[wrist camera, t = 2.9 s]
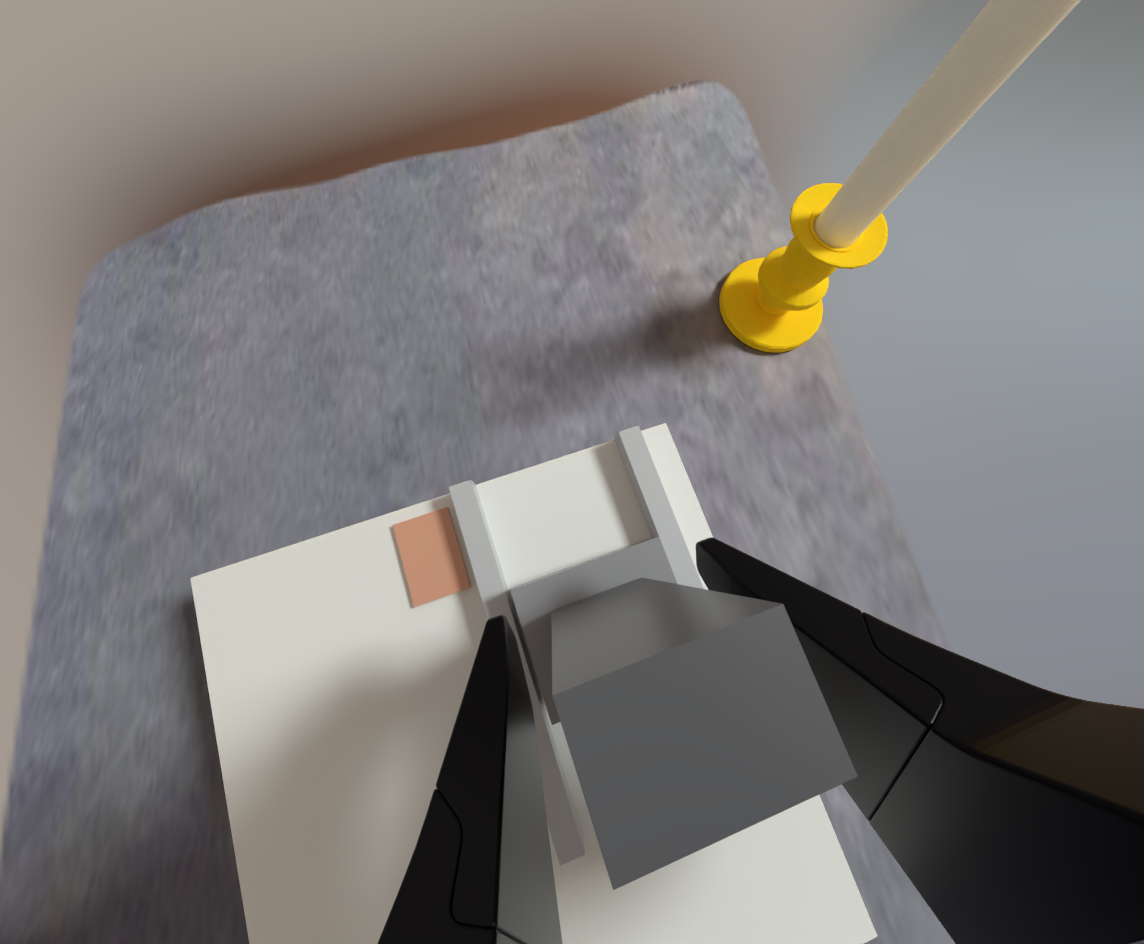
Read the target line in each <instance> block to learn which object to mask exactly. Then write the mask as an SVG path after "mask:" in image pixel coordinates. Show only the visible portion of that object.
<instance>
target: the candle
mask: <svg viewBox="0 0 1144 944" xmlns="http://www.w3.org/2000/svg"><path fill="white" fill-rule="evenodd" d="M1080 1H1081V0H989V2H988V3H987V4H986V6H985V7H984V8H983V9H982V11H981V12H980V13H979V14H978V16H977V17H976V18H975V19H974V21H973V22H972V23H971V24H970V26H969V27H968V28H967V30H966V31H965V32H964V33H963V35H962V36H961V37H960V39H959V40H958V41H957V42H956V44H955V45H954V46H953V47H952V49H951V50H950V51H949V52H948V53H947V55H946V56H945V57H944V59H943V60H942V61H941V62H940V64H939V65H938V66H937V68H936V69H935V70H934V71H933V72H932V74H931V75H930V76H929V78H928V79H927V80H926V81H925V83H924V84H923V85H922V87H921V88H920V89H919V90H918V91H917V93H916V94H915V95H914V96H913V98H912V99H911V100H910V102H909V103H908V104H907V105H906V107H905V108H904V109H903V110H902V112H901V113H900V114H899V115H898V117H897V118H896V119H895V120H894V122H893V123H892V124H891V125H890V127H889V128H888V129H887V131H886V132H885V133H884V135H883V136H882V137H881V138H880V139H879V141H878V142H877V143H876V145H875V146H874V147H873V148H872V149H871V151H870V152H869V153H868V155H867V156H866V157H865V158H864V160H863V161H862V162H861V164H860V165H859V166H858V167H857V168H856V170H855V171H854V172H853V173H852V175H851V176H850V177H849V179H848V180H847V181H846V182H845V184H844V185H842V184H837V183H836V184H835V183H824V184H819V185H815V186H813V187H810V188H808V189H806V190H805V191H804V192H803V193H802V194H801V195H799V196H798V197H797V199H796V201H795V202H794V204H793V206H792V208H791V214H790V223H791V230H792V232H793V234H794V238H793V239H792V240H791V241H790V243H789V245H788V246H786V247H781V248H778V249H776V250H774V251H772V252H771V253H769V254H768V255H767V256H766V258H757V259H752V260H748V261H746V262H744V263H742V264H740V265H738V266H737V267H736V268H735V269H734V270H733V271H732V272H731V273H730V274H729V276H728V278H727V279H726V281H725V283H724V285H723V286H722V288H721V293H720V298H719V303H720V312H721V314H722V317H723V320H724V322H725V324H726V325H727V327H728V328H729V330H730V331H731V332H732V334H734V335H735V336H736V337H737V338H738V339H739V340H740V341H742V342H743V343H745V344H747V345H748V346H750V347H752V348H754V349H757V350H761V351H765V352H778V353H781V352H785V351H790V350H793V349H795V348H797V347H799V346H801V345H802V344H804V343H805V342H806V341H807V340H809V339H810V337H811V336H812V335H813V334H814V333H815V332H816V331H817V329H818V327H819V325H820V323H821V320H822V313H823V306H822V300H821V299H822V298H823V297H824V295H825V294H826V291H827V289H828V284H829V278H828V276H829V275H831V274H832V273H833V272H834V271H835V270H836V268H848V269H853V268H857V267H862V266H865V265H867V264H869V263H870V262H872V261H874V260H875V259H876V258H877V257H878V256H879V255H880V254H881V253H882V251H883V250H884V247H885V245H886V243H887V238H888V228H887V223H886V220H885V218H884V215H883V214H882V212H883V211H884V209H885V208H886V207H887V206H888V205H889V204H890V203H891V202H892V201H893V200H894V199H895V198H896V197H897V196H898V195H899V193H900V192H901V191H902V190H903V189H904V188H905V187H906V186H907V185H908V184H909V183H910V182H911V181H912V180H913V179H914V177H915V176H916V175H917V174H918V173H919V172H920V171H921V170H922V169H923V168H924V167H925V166H926V165H927V164H928V162H930V161H931V159H932V158H933V157H934V156H935V155H936V154H937V153H938V152H939V151H940V150H941V149H942V148H943V147H944V146H945V144H946V143H947V142H948V141H949V140H950V139H951V138H952V137H953V136H954V135H955V134H956V133H957V132H958V130H960V128H962V126H963V125H964V124H965V123H966V122H967V121H968V120H969V119H970V118H971V117H972V116H973V115H974V114H975V112H977V111H978V109H979V108H980V107H981V106H982V105H983V104H984V103H985V102H986V101H987V100H988V99H989V98H990V97H991V96H992V94H993V93H994V92H995V91H996V90H997V89H998V88H999V87H1000V86H1001V85H1002V84H1003V83H1004V82H1005V81H1006V80H1007V79H1008V77H1009V76H1010V75H1011V74H1012V73H1013V72H1014V71H1015V70H1016V69H1017V68H1018V67H1019V66H1020V65H1021V64H1022V63H1023V61H1024V60H1025V59H1026V58H1027V57H1028V56H1029V55H1030V54H1031V53H1032V52H1033V51H1034V50H1035V49H1036V48H1037V47H1038V46H1039V45H1040V43H1041V42H1042V41H1043V40H1044V39H1045V38H1046V37H1047V36H1048V35H1049V34H1050V33H1051V32H1052V31H1053V30H1054V29H1055V27H1056V26H1057V25H1058V24H1059V23H1060V22H1061V21H1062V20H1063V19H1064V18H1065V17H1066V16H1067V15H1068V14H1069V13H1070V11H1071V10H1072V9H1073V8H1074V7H1075V6H1076V5H1077V4H1078V3H1079V2H1080Z"/></svg>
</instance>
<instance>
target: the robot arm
mask: <svg viewBox="0 0 1144 944" xmlns="http://www.w3.org/2000/svg"><path fill="white" fill-rule="evenodd" d="M696 566H697V569H698V572H699V574H700V576H701V578H702V579H703V581H704V583H705V585H706V586H707V588H708V590H712V591H717V592H722V593H728V594H733V595H738V596H744V597H749V598H755V599H760V600H765V601H771V602H776V603H781V604H784V607H785V609H786V611H787V614H788V616H789V618H790V621H791V623H792V625H793V628H794V630H795V632H796V635H797V637H798V639H799V642H800V644H801V646H802V648H803V651H804V653H805V655H806V658H807V660H808V662H809V665H810V667H811V669H812V672H813V674H814V676H815V679H816V681H817V683H818V686H819V688H820V690H821V692H822V695H823V697H824V699H825V702H826V704H827V706H828V709H829V711H830V713H831V716H832V718H833V720H834V723H835V725H836V727H837V730H838V732H839V734H840V736H841V739H842V741H843V743H844V746H845V748H846V750H847V753H848V755H849V757H850V760H851V762H852V764H853V767H854V769H855V771H856V773H857V776H858V777H856V778H854V779H851V780H849V781H847V782H845V783H843V784H842V785H843V786H844V788H845V789H846V791H847V792H848V793H849V795H850V796H851V798H852V799H853V800H854V802H855V803H856V805H857V806H858V807H859V809H860V810H861V812H862V813H863V814H864V816H865V817H866V819H867V820H869V821H870V825H871V826H872V827H873V829H874V830H875V832H876V833H877V834H878V836H879V837H880V838H881V840H882V841H883V843H884V844H885V845H886V847H887V848H888V850H889V851H890V852H891V854H892V855H893V857H894V858H895V859H896V861H897V862H898V864H899V865H900V866H901V868H902V869H903V871H904V872H905V873H906V875H907V876H908V878H909V879H910V880H911V882H912V883H913V885H914V886H915V887H916V889H917V890H918V892H919V893H920V894H921V896H922V897H923V899H924V900H925V901H926V903H927V904H928V906H929V907H930V908H931V910H932V911H933V913H934V914H935V915H936V917H937V918H938V920H939V921H940V922H941V924H942V925H943V927H944V928H945V929H946V931H947V932H948V933H949V935H950V936H951V938H952V939H953V940H954V942H955V943H956V944H1144V709H1141V708H1134V707H1127V706H1120V705H1113V704H1105V703H1098V702H1091V701H1086V700H1082V699H1077V698H1072V697H1069V696H1065V695H1061V694H1057V693H1054V692H1051V691H1048V690H1045V689H1042V688H1039V687H1037V686H1034V685H1031V684H1029V683H1026V682H1024V681H1021V680H1019V679H1016V678H1014V677H1011V676H1009V675H1007V674H1004V673H1002V672H999V671H997V670H994V669H992V668H990V667H987V666H985V665H982V664H980V663H977V662H975V661H973V660H970V659H968V658H965V657H963V656H960V655H958V654H955V653H953V652H951V651H948V650H946V649H943V648H941V647H939V646H936V645H934V644H932V643H929V642H927V641H925V640H922V639H920V638H918V637H915V636H913V635H911V634H909V633H907V632H905V631H902V630H900V629H898V628H896V627H894V626H892V625H890V624H888V623H885V622H883V621H881V620H879V619H877V618H875V617H873V616H871V615H869V614H867V613H865V612H863V613H862V612H861V611H860V610H859V609H857V608H855V607H853V606H851V605H849V604H847V603H845V602H843V601H841V600H839V599H837V598H834V597H832V596H830V595H828V594H826V593H824V592H822V591H820V590H818V589H816V588H814V587H812V586H810V585H808V584H806V583H804V582H802V581H800V580H798V579H796V578H794V577H792V576H790V575H788V574H786V573H784V572H782V571H780V570H778V569H776V568H774V567H772V566H770V565H768V564H766V563H764V562H762V561H760V560H758V559H756V558H754V557H751V556H749V555H747V554H745V553H743V552H741V551H739V550H737V549H735V548H733V547H731V546H729V545H727V544H725V543H723V542H721V541H719V540H717V539H715V538H711V537H710V538H707V539H704V540H701V541H699V542H697V543H696ZM436 788H437V789H435V790H434V791H433V794H432V797H431V801H430V804H429V807H428V810H427V814H426V817H425V820H424V823H423V826H422V829H421V832H420V835H419V838H418V841H417V844H416V847H415V849H414V852H413V855H412V857H411V860H410V863H409V865H408V868H407V870H406V873H405V876H404V878H403V881H402V883H401V886H400V889H399V891H398V894H397V896H396V899H395V901H394V904H393V906H392V909H391V911H390V914H389V916H388V919H387V921H386V924H385V926H384V929H383V931H382V933H381V936H380V938H379V941H378V943H377V944H562V936H561V928H560V921H559V913H558V905H557V897H556V889H555V881H554V873H553V865H552V857H551V849H550V841H549V833H548V825H547V817H546V809H545V801H544V793H543V785H542V777H541V769H540V762H539V754H538V746H537V738H536V730H535V722H534V715H533V708H532V703H531V698H530V694H529V690H528V685H527V681H526V677H525V673H524V669H523V665H522V661H521V657H520V653H519V649H518V645H517V641H516V638H515V635H514V633H513V630H512V628H511V626H510V624H509V622H508V620H507V618H506V616H505V615H504V614H500V615H498V616H495V617H492V618H490V619H488V620H487V622H486V624H485V627H484V630H483V634H482V637H481V640H480V643H479V647H478V650H477V653H476V656H475V659H474V663H473V666H472V669H471V672H470V676H469V679H468V682H467V685H466V688H465V692H464V695H463V698H462V701H461V705H460V708H459V711H458V714H457V717H456V721H455V724H454V727H453V730H452V734H451V737H450V740H449V743H448V746H447V750H446V753H445V756H444V759H443V763H442V766H441V769H440V772H439V775H438V779H437V782H436Z"/></svg>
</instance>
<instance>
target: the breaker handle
mask: <svg viewBox="0 0 1144 944" xmlns="http://www.w3.org/2000/svg"><path fill="white" fill-rule="evenodd" d="M510 591H511V594H512V598H513V601H514V604H515V607H516V610H517V614H518V617H519V620H520V623H521V627H522V630H523V633H524V636H525V640H526V643H527V646H528V649H529V653H530V656H531V659H532V662H533V666H534V669H535V672H536V675H537V679H538V682H539V685H540V688H541V692H542V695H543V698H544V701H545V705H546V708H547V711H548V714H549V718H550V721H551V724H552V725H554V724H556V723H559V722H561V725H562V728H563V731H564V734H565V738H566V741H567V744H568V747H569V750H570V754H571V757H572V760H573V763H574V766H575V770H576V773H577V776H578V779H579V782H580V786H581V789H582V792H583V795H584V798H585V802H586V805H587V808H588V811H589V814H590V818H591V821H592V824H593V827H594V830H595V834H596V837H597V840H598V843H599V846H600V850H601V853H602V856H603V859H604V862H605V866H606V869H607V872H608V875H609V878H610V882H611V885H612V888H613V890H615V889H617V888H619V887H621V886H624V885H626V884H628V883H630V882H632V881H634V880H637V879H639V878H641V877H643V876H645V875H647V874H649V873H652V872H654V871H656V870H658V869H660V868H662V867H664V866H667V865H669V864H671V863H673V862H675V861H677V860H679V859H682V858H684V857H686V856H688V855H690V854H692V853H695V852H697V851H699V850H701V849H703V848H705V847H707V846H710V845H712V844H714V843H716V842H718V841H720V840H722V839H725V838H727V837H729V836H731V835H733V834H735V833H738V832H740V831H742V830H744V829H746V828H748V827H750V826H753V825H755V824H757V823H759V822H761V821H763V820H765V819H768V818H770V817H772V816H774V815H776V814H778V813H781V812H783V811H785V810H787V809H789V808H791V807H793V806H796V805H798V804H800V803H802V802H804V801H806V800H808V799H811V798H813V797H815V796H817V795H819V794H821V793H823V792H826V791H828V790H830V789H832V788H834V787H836V786H839V785H841V784H843V783H845V782H847V781H849V780H851V779H854V778H856V777H858V776H857V773H856V771H855V769H854V767H853V764H852V762H851V760H850V757H849V755H848V753H847V750H846V748H845V746H844V743H843V741H842V739H841V736H840V734H839V732H838V730H837V727H836V725H835V723H834V720H833V718H832V716H831V713H830V711H829V709H828V706H827V704H826V702H825V699H824V697H823V695H822V692H821V690H820V688H819V686H818V683H817V681H816V679H815V676H814V674H813V672H812V669H811V667H810V665H809V662H808V660H807V658H806V655H805V653H804V651H803V648H802V646H801V644H800V642H799V639H798V637H797V635H796V632H795V630H794V628H793V625H792V623H791V621H790V618H789V616H788V614H787V611H786V609H785V607H784V604H781V603H776V602H771V601H765V600H760V599H755V598H749V597H744V596H738V595H733V594H728V593H722V592H717V591H712V590H706V589H701V588H696V587H690V586H685V585H680V584H677V582H676V579H675V576H674V574H673V571H672V569H671V566H670V564H669V561H668V558H667V556H666V553H665V551H664V548H663V545H662V543H661V540H660V538H659V537H655V538H651V539H646V540H643V541H640V542H637V543H635V544H632V545H629V546H626V547H623V548H621V549H618V550H615V551H612V552H610V553H607V554H604V555H601V556H598V557H596V558H593V559H590V560H587V561H585V562H582V563H579V564H576V565H574V566H571V567H568V568H565V569H562V570H560V571H557V572H554V573H551V574H549V575H546V576H543V577H540V578H537V579H535V580H532V581H529V582H526V583H524V584H521V585H518V586H516V587H514V588H513V589H511V590H510Z"/></svg>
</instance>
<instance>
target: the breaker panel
mask: <svg viewBox="0 0 1144 944" xmlns="http://www.w3.org/2000/svg"><path fill="white" fill-rule="evenodd" d="M449 490H450V494H447V495H443V496H440V497H437V498H434V499H431V500H428V501H425V502H422V503H419V504H416V505H413V506H410V507H407V508H404V509H401V510H397V511H394V512H391V513H388V514H385V515H382V516H379V517H376V518H373V519H370V520H367V521H364V522H361V523H358V524H355V525H351V526H348V527H345V528H342V529H339V530H336V531H333V532H330V533H327V534H324V535H321V536H318V537H315V538H312V539H309V540H305V541H302V542H299V543H296V544H293V545H290V546H287V547H284V548H281V549H278V550H275V551H272V552H269V553H266V554H263V555H259V556H256V557H253V558H250V559H247V560H244V561H241V562H238V563H235V564H232V565H229V566H226V567H223V568H220V569H217V570H213V571H210V572H207V573H204V574H201V575H198V576H195V577H192V578H191V584H192V590H193V597H194V603H195V609H196V615H197V622H198V628H199V634H200V640H201V646H202V653H203V659H204V665H205V671H206V677H207V684H208V690H209V696H210V702H211V708H212V715H213V721H214V727H215V733H216V739H217V746H218V752H219V758H220V764H221V771H222V777H223V783H224V789H225V795H226V802H227V808H228V814H229V820H230V826H231V833H232V839H233V845H234V851H235V857H236V864H237V870H238V876H239V882H240V889H241V895H242V901H243V907H244V913H245V920H246V926H247V932H248V938H249V944H377V943H378V941H379V938H380V936H381V933H382V931H383V929H384V926H385V924H386V921H387V919H388V916H389V914H390V911H391V909H392V906H393V904H394V901H395V899H396V896H397V894H398V891H399V889H400V886H401V883H402V881H403V878H404V876H405V873H406V870H407V868H408V865H409V863H410V860H411V857H412V855H413V852H414V849H415V847H416V844H417V841H418V838H419V835H420V832H421V829H422V826H423V823H424V820H425V817H426V814H427V810H428V807H429V804H430V801H431V797H432V794H433V791H434V790H435V789H437V788H436V782H437V779H438V775H439V772H440V769H441V766H442V763H443V759H444V756H445V753H446V750H447V746H448V743H449V740H450V737H451V734H452V730H453V727H454V724H455V721H456V717H457V714H458V711H459V708H460V705H461V701H462V698H463V695H464V692H465V688H466V685H467V682H468V679H469V676H470V672H471V669H472V666H473V663H474V659H475V656H476V653H477V650H478V647H479V643H480V640H481V637H482V634H483V630H484V627H485V624H486V622H487V620H488V619H490V618H492V617H495V616H498V615H500V614H504V615H505V616H506V618H507V620H508V622H509V624H510V626H511V628H512V630H513V633H514V635H515V638H516V641H517V645H518V649H519V653H520V657H521V661H522V665H523V669H524V673H525V677H526V681H527V685H528V690H529V694H530V698H531V703H532V708H533V715H534V722H535V730H536V738H537V746H538V754H539V762H540V769H541V777H542V785H543V793H544V801H545V809H546V817H547V825H548V833H549V841H550V849H551V857H552V865H553V873H554V881H555V889H556V897H557V905H558V913H559V921H560V928H561V936H562V944H864V943H866V942H868V941H870V940H871V939H873V938H875V937H877V934H876V931H875V929H874V927H873V924H872V922H871V919H870V917H869V914H868V912H867V910H866V907H865V905H864V902H863V900H862V897H861V895H860V893H859V890H858V888H857V885H856V883H855V881H854V878H853V876H852V873H851V871H850V868H849V866H848V864H847V861H846V859H845V856H844V854H843V851H842V849H841V847H840V844H839V842H838V839H837V837H836V834H835V832H834V830H833V827H832V825H831V822H830V820H829V817H828V815H827V813H826V810H825V808H824V805H823V803H822V800H821V798H820V796H819V795H817V796H815V797H813V798H811V799H808V800H806V801H804V802H802V803H800V804H798V805H796V806H793V807H791V808H789V809H787V810H785V811H783V812H781V813H778V814H776V815H774V816H772V817H770V818H768V819H765V820H763V821H761V822H759V823H757V824H755V825H753V826H750V827H748V828H746V829H744V830H742V831H740V832H738V833H735V834H733V835H731V836H729V837H727V838H725V839H722V840H720V841H718V842H716V843H714V844H712V845H710V846H707V847H705V848H703V849H701V850H699V851H697V852H695V853H692V854H690V855H688V856H686V857H684V858H682V859H679V860H677V861H675V862H673V863H671V864H669V865H667V866H664V867H662V868H660V869H658V870H656V871H654V872H652V873H649V874H647V875H645V876H643V877H641V878H639V879H637V880H634V881H632V882H630V883H628V884H626V885H624V886H621V887H619V888H617V889H615V890H613V888H612V885H611V882H610V878H609V875H608V872H607V869H606V866H605V862H604V859H603V856H602V853H601V850H600V846H599V843H598V840H597V837H596V834H595V830H594V827H593V824H592V821H591V818H590V814H589V811H588V808H587V805H586V802H585V798H584V795H583V792H582V789H581V786H580V782H579V779H578V776H577V773H576V770H575V766H574V763H573V760H572V757H571V754H570V750H569V747H568V744H567V741H566V738H565V734H564V731H563V728H562V725H561V722H559V723H556V724H554V725H552V724H551V721H550V718H549V714H548V711H547V708H546V705H545V701H544V698H543V695H542V692H541V688H540V685H539V682H538V679H537V675H536V672H535V669H534V666H533V662H532V659H531V656H530V653H529V649H528V646H527V643H526V640H525V636H524V633H523V630H522V627H521V623H520V620H519V617H518V614H517V610H516V607H515V604H514V601H513V598H512V594H511V591H510V590H511V589H513V588H514V587H516V586H518V585H521V584H524V583H526V582H529V581H532V580H535V579H537V578H540V577H543V576H546V575H549V574H551V573H554V572H557V571H560V570H562V569H565V568H568V567H571V566H574V565H576V564H579V563H582V562H585V561H587V560H590V559H593V558H596V557H598V556H601V555H604V554H607V553H610V552H612V551H615V550H618V549H621V548H623V547H626V546H629V545H632V544H635V543H637V542H640V541H643V540H646V539H651V538H655V537H659V538H660V540H661V543H662V545H663V548H664V551H665V553H666V556H667V558H668V561H669V564H670V566H671V569H672V571H673V574H674V576H675V579H676V582H677V584H680V585H685V586H690V587H696V588H701V589H706V590H708V588H707V586H706V585H705V583H704V581H703V579H702V578H701V576H700V574H699V572H698V569H697V566H696V543H697V542H699V541H701V540H704V539H707V538H710V537H711V538H713V536H712V534H711V531H710V529H709V526H708V524H707V522H706V519H705V517H704V514H703V512H702V509H701V507H700V505H699V502H698V500H697V497H696V495H695V492H694V490H693V488H692V485H691V483H690V480H689V478H688V475H687V473H686V471H685V468H684V466H683V463H682V461H681V458H680V456H679V454H678V451H677V449H676V446H675V444H674V442H673V439H672V437H671V434H670V432H669V429H668V427H667V425H666V423H664V424H661V425H658V426H655V427H652V428H649V429H646V430H643V431H641V430H640V427H639V425H638V426H635V427H632V428H629V429H626V430H623V431H620V432H618V434H617V436H616V438H615V440H612V441H609V442H606V443H603V444H600V445H597V446H594V447H591V448H588V449H585V450H582V451H578V452H575V453H572V454H569V455H566V456H563V457H560V458H557V459H554V460H551V461H548V462H545V463H542V464H539V465H536V466H532V467H529V468H526V469H523V470H520V471H517V472H514V473H511V474H508V475H505V476H502V477H499V478H496V479H493V480H489V481H486V482H483V483H480V484H477V485H476V484H475V483H474V482H473V481H472V480H469V481H465V482H462V483H459V484H456V485H453V486H450V487H449Z"/></svg>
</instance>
